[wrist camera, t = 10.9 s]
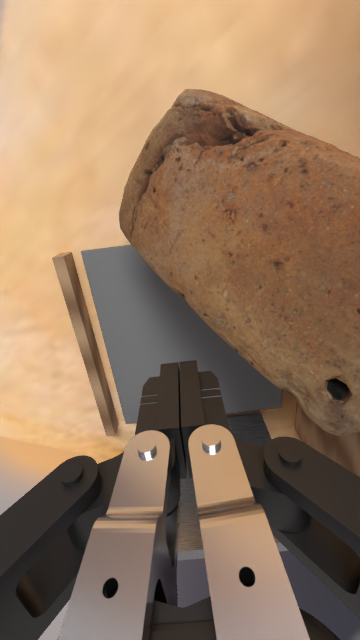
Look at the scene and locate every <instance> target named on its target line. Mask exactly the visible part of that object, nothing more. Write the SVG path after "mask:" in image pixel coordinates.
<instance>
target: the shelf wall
mask: <svg viewBox="0 0 360 640" xmlns="http://www.w3.org/2000/svg"><path fill="white" fill-rule="evenodd" d="M295 429H296V431H297V433H298V435H299V437H300V439H301V441H302V442H304V443H305V444H307V445H309V446H310V447H312V448H313V449H315V450H317V451H318V452H320V453H322V454H323V455H325V456H327V457H328V458H330V459H331V460H333V461H335V462H336V463H338V464H340V465H341V466H343V467H344V468H346V469H348V470H349V471H351V472H353V473H354V474H356V475H358V476H359V477H360V432H359V433H356V434H354V435H350V436H343V437H341V436H338V435H334V434H330V433H328V432H327V431H325V430H323V429H322V428H321V427H319V426H318V425H317V424H315V423H314V422H313V421H312V420H311V419H310V418H309V417H308V416H307V415H306V414H305V412H304V411H303V410H302V409H301V407H300V405H299V403H298V401H297V409H296V423H295Z"/></svg>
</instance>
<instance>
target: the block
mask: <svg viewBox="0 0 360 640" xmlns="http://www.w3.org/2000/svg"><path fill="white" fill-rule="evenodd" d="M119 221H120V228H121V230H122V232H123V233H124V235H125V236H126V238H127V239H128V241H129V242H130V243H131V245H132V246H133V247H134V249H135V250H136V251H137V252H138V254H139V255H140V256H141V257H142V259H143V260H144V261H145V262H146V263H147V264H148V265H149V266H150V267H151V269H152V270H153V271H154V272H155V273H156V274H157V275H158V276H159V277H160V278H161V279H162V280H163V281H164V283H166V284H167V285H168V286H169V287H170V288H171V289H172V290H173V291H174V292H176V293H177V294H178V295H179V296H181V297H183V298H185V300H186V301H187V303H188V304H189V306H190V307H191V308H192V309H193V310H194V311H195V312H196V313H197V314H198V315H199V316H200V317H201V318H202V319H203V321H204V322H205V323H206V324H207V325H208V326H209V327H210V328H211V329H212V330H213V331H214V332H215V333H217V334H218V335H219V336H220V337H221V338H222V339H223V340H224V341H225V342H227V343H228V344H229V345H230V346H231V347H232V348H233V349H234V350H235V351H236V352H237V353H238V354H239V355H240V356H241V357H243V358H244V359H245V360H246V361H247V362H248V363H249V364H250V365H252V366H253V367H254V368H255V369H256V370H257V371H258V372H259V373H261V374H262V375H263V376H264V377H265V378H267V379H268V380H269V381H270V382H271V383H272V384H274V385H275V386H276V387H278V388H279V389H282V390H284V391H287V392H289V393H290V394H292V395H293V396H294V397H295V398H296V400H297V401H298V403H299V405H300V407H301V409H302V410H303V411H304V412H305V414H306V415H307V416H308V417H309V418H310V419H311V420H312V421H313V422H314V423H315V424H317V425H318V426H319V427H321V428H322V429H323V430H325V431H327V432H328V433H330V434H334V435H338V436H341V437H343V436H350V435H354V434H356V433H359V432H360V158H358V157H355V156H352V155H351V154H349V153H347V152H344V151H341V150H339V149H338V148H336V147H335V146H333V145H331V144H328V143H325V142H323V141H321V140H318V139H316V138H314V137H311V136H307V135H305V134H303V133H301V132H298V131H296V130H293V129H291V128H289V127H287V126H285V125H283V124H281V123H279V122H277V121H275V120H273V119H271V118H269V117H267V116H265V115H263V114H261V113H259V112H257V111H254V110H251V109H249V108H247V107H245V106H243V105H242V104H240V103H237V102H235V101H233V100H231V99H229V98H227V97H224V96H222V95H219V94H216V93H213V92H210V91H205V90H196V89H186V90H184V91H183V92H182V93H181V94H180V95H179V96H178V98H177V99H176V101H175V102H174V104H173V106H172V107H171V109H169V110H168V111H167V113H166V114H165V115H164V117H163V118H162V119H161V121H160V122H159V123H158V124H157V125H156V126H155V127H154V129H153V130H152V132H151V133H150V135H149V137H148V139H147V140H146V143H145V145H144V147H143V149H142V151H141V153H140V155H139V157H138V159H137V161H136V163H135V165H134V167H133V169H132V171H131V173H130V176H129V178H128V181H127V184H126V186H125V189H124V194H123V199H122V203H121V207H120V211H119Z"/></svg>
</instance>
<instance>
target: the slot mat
mask: <svg viewBox="0 0 360 640" xmlns="http://www.w3.org/2000/svg"><path fill="white" fill-rule="evenodd" d="M81 254H82V258H83V261H84V265H85V269H86V273H87V277H88V281H89V284H90V288H91V292H92V296H93V300H94V304H95V307H96V311H97V315H98V319H99V323H100V327H101V330H102V334H103V338H104V342H105V346H106V349H107V353H108V357H109V361H110V365H111V369H112V372H113V376H114V380H115V384H116V388H117V392H118V395H119V399H120V403H121V407H122V411H123V415H124V418H125V422H126V424H127V423H137V420H138V414H139V408H140V402H141V397H142V389H143V385H144V384H145V383H146V381H147V380H148V379H149V377H158V376H160V367H161V364H166V363H175V362H178V363H179V362H183V361H193V360H197V367H198V372H204V371H211V372H212V373H213V374H214V375H215V376H216V377H217V378H218V382H219V386H220V391H221V396H222V399H223V404H224V408H225V412H226V413H232V412H242V411H252V410H261V409H271V408H280V407H281V400H282V389H279V388H278V387H276V386H275V385H274V384H272V383H271V382H270V381H269V380H268V379H267V378H265V377H264V376H263V375H262V374H261V373H259V372H258V371H257V370H256V369H255V368H254V367H253V366H252V365H250V364H249V363H248V362H247V361H246V360H245V359H244V358H243V357H241V356H240V355H239V354H238V353H237V352H236V351H235V350H234V349H233V348H232V347H231V346H230V345H229V344H228V343H227V342H225V341H224V340H223V339H222V338H221V337H220V336H219V335H218V334H217V333H215V332H214V331H213V330H212V329H211V328H210V327H209V326H208V325H207V324H206V323H205V322H204V321H203V319H202V318H201V317H200V316H199V315H198V314H197V313H196V312H195V311H194V310H193V309H192V308H191V307H190V306H189V304H188V303H187V301H186V300H185V298H183V297H181V296H179V295H178V294H177V293H176V292H174V291H173V290H172V289H171V288H170V287H169V286H168V285H167V284H166V283H164V281H163V280H162V279H161V278H160V277H159V276H158V275H157V274H156V273H155V272H154V271H153V270H152V269H151V267H150V266H149V265H148V264H147V263H146V262H145V261H144V260H143V259H142V257H141V256H140V255H139V254H138V252H137V251H136V250H135V249H134V247H133V246H132V245H126V246H118V247H110V248H102V249H94V250H86V251H81ZM179 370H180V365H179Z"/></svg>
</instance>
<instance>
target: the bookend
mask: <svg viewBox="0 0 360 640" xmlns="http://www.w3.org/2000/svg"><path fill="white" fill-rule="evenodd" d="M226 417H227V421H228V425H229V428H230V430H231V432H232V433H233V434H234V435H235V436H236V437H237V438H238V439H240V440H242V441H244V442H246V443H249V444H253V445H259V446H264V447H265V446H266V445H267V443H268V442H269V441H271V437H270V435H269V432H268V430H267V427H266V425H265V422H264V420H263V417H262V415H261V412H260V410H258V411H249V412H239V413H230V414H226ZM186 464H187V461H186ZM273 537H274V536H273ZM274 540H275V543H276V545H277V548H278V551H289V550H288V549H287V548H285V547H284V546H283V545H282V544H281V543H280V542H279V541H278V540H277V539H276V538H275V537H274ZM200 558H205V557H204V550H203V543H202V536H201V529H200V522H199V516H198V509H197V502H196V495H195V487H194V481H193V478H189V474H188V468H187V479H180V522H179V540H178V559H177V561H178V560H188V559H200Z"/></svg>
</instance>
